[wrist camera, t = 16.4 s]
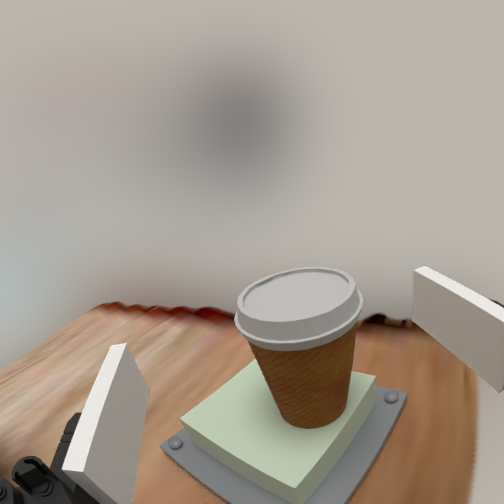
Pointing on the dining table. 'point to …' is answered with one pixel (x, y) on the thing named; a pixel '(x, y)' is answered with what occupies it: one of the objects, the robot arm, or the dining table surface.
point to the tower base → (328, 488)
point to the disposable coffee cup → (303, 340)
